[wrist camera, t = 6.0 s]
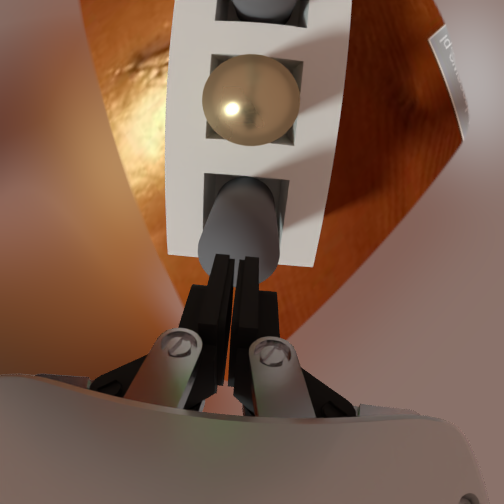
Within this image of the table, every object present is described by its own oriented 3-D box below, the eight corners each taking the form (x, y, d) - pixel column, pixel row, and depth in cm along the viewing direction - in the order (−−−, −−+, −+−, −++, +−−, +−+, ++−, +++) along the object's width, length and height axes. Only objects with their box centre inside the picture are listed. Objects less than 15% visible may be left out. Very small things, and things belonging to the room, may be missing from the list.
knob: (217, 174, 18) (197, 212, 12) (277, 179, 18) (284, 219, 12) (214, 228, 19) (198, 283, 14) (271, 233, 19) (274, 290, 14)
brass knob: (224, 66, 14) (205, 52, 9) (289, 71, 14) (305, 59, 9) (219, 126, 16) (199, 143, 11) (283, 131, 16) (294, 150, 11)
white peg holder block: (203, -22, 14) (184, -55, 9) (330, -12, 14) (353, -41, 9) (188, 216, 24) (168, 254, 18) (301, 225, 24) (312, 267, 19)
